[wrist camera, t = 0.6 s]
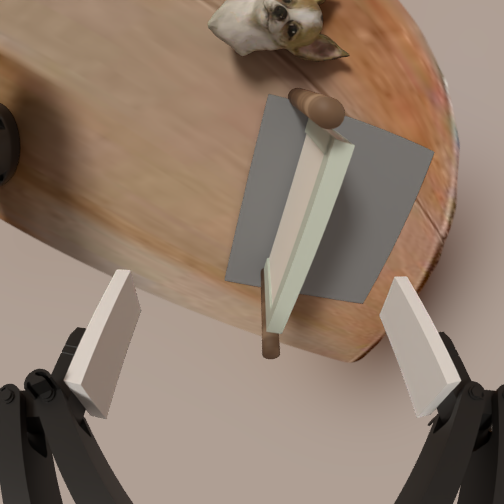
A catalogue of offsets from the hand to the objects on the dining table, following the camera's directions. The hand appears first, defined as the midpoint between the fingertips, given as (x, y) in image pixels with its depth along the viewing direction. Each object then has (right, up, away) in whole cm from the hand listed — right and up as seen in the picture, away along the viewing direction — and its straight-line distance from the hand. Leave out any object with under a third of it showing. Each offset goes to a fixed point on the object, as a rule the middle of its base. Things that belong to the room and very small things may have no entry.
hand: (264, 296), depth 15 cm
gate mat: (+10, +7, +27) cm, 30 cm away
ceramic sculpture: (+2, +29, +13) cm, 32 cm away
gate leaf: (+4, +9, +24) cm, 26 cm away
